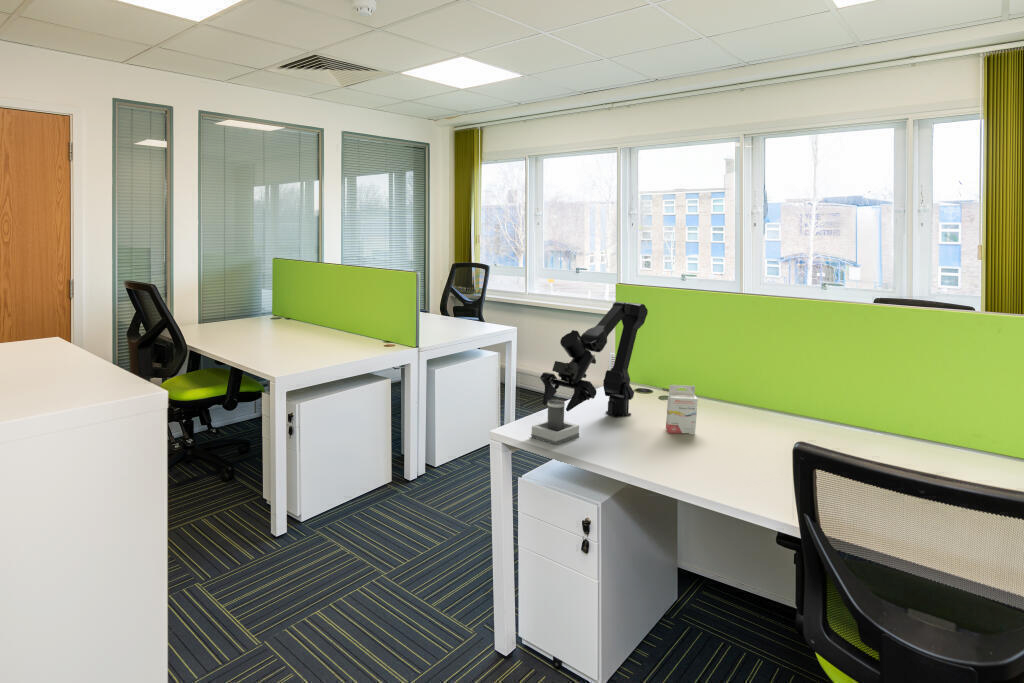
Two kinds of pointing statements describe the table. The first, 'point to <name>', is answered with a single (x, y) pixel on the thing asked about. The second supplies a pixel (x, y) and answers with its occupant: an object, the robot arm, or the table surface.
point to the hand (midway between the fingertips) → (555, 407)
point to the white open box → (555, 433)
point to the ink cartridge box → (681, 409)
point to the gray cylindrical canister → (555, 415)
